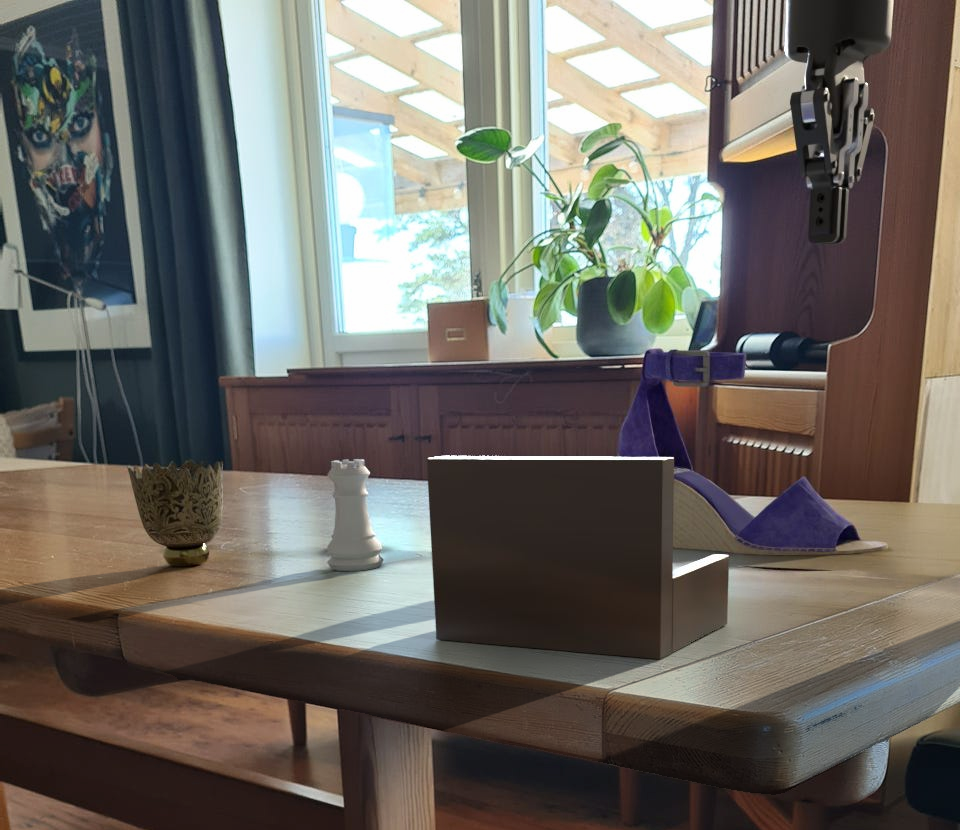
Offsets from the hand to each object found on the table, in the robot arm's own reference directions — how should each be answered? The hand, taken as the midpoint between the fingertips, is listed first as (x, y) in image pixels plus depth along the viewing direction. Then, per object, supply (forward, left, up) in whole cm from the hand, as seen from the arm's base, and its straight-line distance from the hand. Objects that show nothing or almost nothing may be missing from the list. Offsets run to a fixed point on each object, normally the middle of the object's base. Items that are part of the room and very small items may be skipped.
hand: (827, 242), depth 99 cm
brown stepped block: (+42, 0, -22) cm, 47 cm away
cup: (+29, -43, -22) cm, 56 cm away
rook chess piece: (+26, -28, -22) cm, 44 cm away
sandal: (+15, 0, -22) cm, 27 cm away
